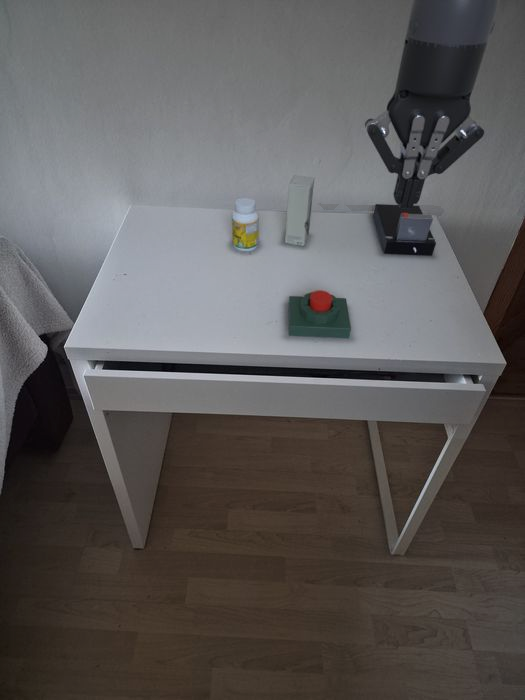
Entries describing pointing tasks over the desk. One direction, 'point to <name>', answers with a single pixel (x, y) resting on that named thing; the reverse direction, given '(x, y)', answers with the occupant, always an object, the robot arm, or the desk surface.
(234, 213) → the supplement bottle
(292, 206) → the box
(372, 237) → the desk surface
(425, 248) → the black rectangular base
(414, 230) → the grey and red bar
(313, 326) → the button box
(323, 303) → the button
